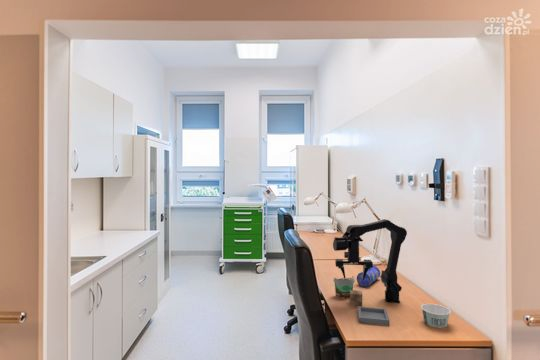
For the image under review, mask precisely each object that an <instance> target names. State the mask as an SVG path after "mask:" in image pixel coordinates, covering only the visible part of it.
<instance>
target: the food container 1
mask: <svg viewBox="0 0 540 360" xmlns="http://www.w3.org/2000/svg"><path fill="white" fill-rule="evenodd" d="M333 282H334V293H335V296H336V297H338V298H341V299H350V290H354V283H355V282H356V280H355V277H354V276H353V275H352V277H345V279H344V277H342V278H336V277H334V278H333Z"/></svg>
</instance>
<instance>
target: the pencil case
mask: <svg viewBox="0 0 540 360" xmlns="http://www.w3.org/2000/svg"><path fill="white" fill-rule="evenodd" d="M362 276H363V271H360V272H358V274H357V276H356V282H357V284H358V285H359V286H360V287H363V288H365V287H368V286H370V285H371V284H372V283H373V282H375V281H376V280H377V279H378V278H380V277H381V270H380V268H379V267H378V266H376V265H375V264H373V268H370V269H368V271H367V273H366V275H365V278H364V280H363V279H362Z"/></svg>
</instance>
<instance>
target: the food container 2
mask: <svg viewBox="0 0 540 360" xmlns="http://www.w3.org/2000/svg"><path fill="white" fill-rule="evenodd" d="M420 308H421V311H422V317H423V321H424V324H426V325H428V326H429V327H432V328H436V327H439V328H438V329H443V328H442V327H445V328H447V327H448V323H449V317H450V314H451V312H452V311H451V309H450V308H448V307H446V306H444V305H440V304H435V303H424V304H422V305H420ZM446 326H447V327H446Z"/></svg>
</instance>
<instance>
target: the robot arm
mask: <svg viewBox="0 0 540 360" xmlns="http://www.w3.org/2000/svg"><path fill="white" fill-rule="evenodd" d="M383 229H386V230H387V231H389V232H390V241H391V243H390V244H391V245H390V249H389V254H388V259H387V264H386V267H385V269H384V270H381V273H380V277H379V278H380V281H381V283H382V284H383V286H384V287H385V290H384V299H385V301H386V302H387V303H397V304H399V303H400V302H401V301H400V292H401V291H402V289H403V288H402V286H401V285H400V284H399V283H398V275H397V274H398V273H397V269H398V268H397V267H398V262H399V257H400V253H401V246H402V244H403V243H404V241H405V240H406V238H407V235H408V233H407V232H408V230H406V228H404V227H402V226H399V225H397V224H395V223H393V222H392V221H391V220H389V219H385V218H384V219H381V220H378V221H374V222H369V223H364V224H351V225H348V226H347V227H346V230H345V232H344V234H343V235H342V237H341V236H340V237H337V236H336V237H334V239H333V242H332V248H333V250H334V251H335V252H337V251H338V252H339V251H344V252H343V253H344V254H343V258H344V259H347V260H343V258H336V259H335V260H334V261H335V267H337V268H338V269H340V271H341V273H342V275H343V278H344V279H345V278H346V272H345V271H346V270H345V266H363V267H362V272H363V276H362V279H363V280H364V278H365V275H366V273H367V271H368V269H370V268H373V265H374V262H373V261H372V260H371V259H363V261H360V242H364V240H363V239H362V238H361V236H363V235H365V234H367V233H369V232H374V231H378V230H383ZM346 250H347V251H346Z"/></svg>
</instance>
